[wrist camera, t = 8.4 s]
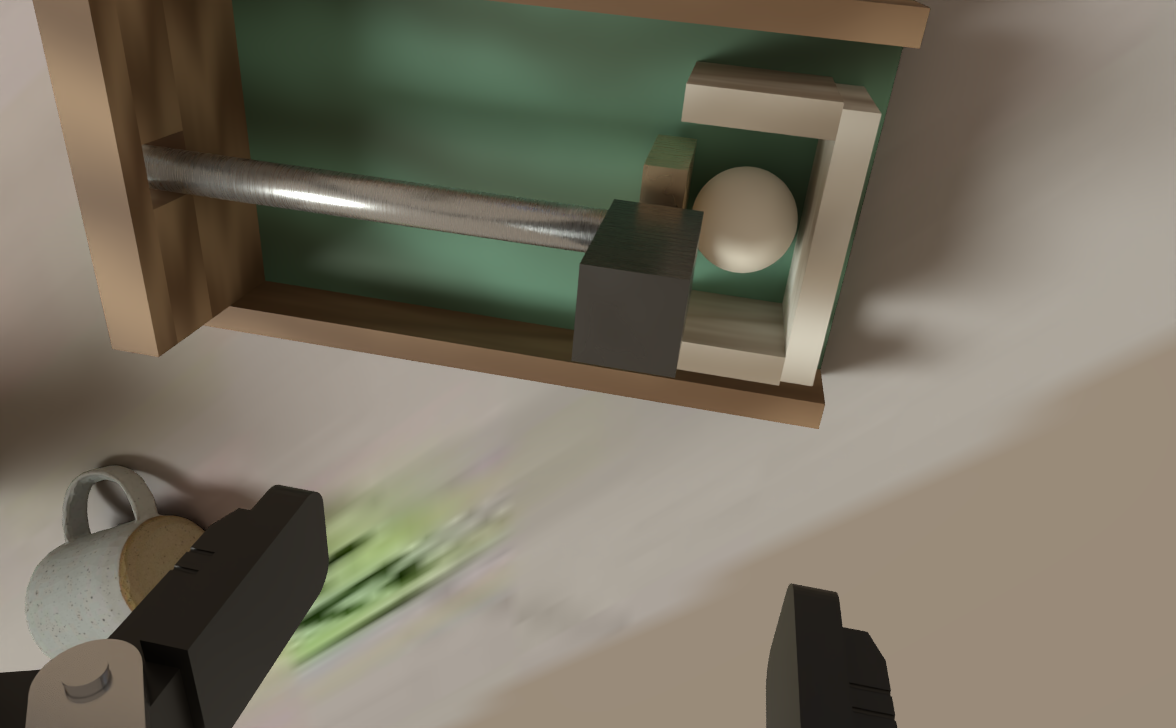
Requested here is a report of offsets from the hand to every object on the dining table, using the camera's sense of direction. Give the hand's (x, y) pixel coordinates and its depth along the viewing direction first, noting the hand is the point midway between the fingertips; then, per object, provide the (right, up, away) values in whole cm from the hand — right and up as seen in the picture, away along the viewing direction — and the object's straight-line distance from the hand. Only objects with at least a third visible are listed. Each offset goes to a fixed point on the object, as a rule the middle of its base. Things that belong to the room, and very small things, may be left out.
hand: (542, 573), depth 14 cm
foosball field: (-2, +12, +21) cm, 25 cm away
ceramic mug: (-26, -7, +37) cm, 46 cm away
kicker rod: (-6, +12, +20) cm, 24 cm away
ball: (+7, +9, +17) cm, 21 cm away
